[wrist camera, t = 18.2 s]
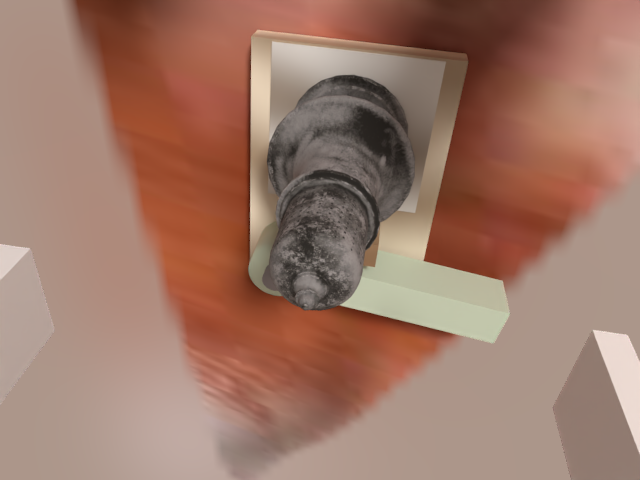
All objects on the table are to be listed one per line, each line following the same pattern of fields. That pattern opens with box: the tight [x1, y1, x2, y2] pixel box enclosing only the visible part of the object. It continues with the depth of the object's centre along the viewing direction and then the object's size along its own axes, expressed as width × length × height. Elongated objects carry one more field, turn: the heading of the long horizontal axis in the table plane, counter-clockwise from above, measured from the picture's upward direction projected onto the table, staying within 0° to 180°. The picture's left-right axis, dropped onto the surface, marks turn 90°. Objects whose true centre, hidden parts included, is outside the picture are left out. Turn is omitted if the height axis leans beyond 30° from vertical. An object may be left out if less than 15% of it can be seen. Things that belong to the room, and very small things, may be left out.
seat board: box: [250, 30, 469, 267], centre depth 25 cm, size 12×9×4 cm
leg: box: [248, 221, 510, 343], centre depth 27 cm, size 12×3×3 cm, turn 78°
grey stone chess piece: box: [267, 75, 415, 310], centre depth 20 cm, size 6×6×12 cm
